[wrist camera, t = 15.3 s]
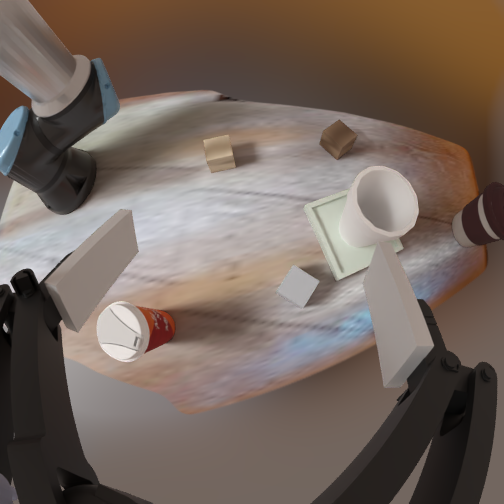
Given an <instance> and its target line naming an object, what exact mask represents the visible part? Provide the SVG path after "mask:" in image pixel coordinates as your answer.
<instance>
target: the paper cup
mask: <svg viewBox="0 0 504 504" xmlns="http://www.w3.org/2000/svg"><path fill="white" fill-rule="evenodd" d="M174 333H175V323H174V320H173V319H172V317H171V316H170V315H169V314H168V313H166V312H164V311H160V310H155V309H150V308H144V307H138V306H134V305H133V304H131V303H128V302H123V301H120V302H115V303H112V304H111V305H109V306H108V307H107V308H106V309H105V310H104V311H103V312H102V313H101V314H100V316H99V318H98V321H97V336H98V340H99V343H101V344H100V345H101V347H102V348H103V350H104V351H105V352H106V353H107V354H108V355H109V356H111V357H113V358H115V359H117V360H119V361H123V362H131V361H135V360H137V359H139V358H140V357H141V356H142V355H143V354H144V353H146V352H148V351H150V350H153V349H155V348H157V347H159V346H161V345H163V344H165V343H167V342H168V341H169V340H171V339H172V337H173V336H174Z"/></svg>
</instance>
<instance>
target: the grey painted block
mask: <svg viewBox="0 0 504 504" xmlns="http://www.w3.org/2000/svg"><path fill="white" fill-rule="evenodd" d="M319 282H320V281H319V280H317V279H315V278H314V277H312V276H311V275H309V274H307V273H306V272H304V271H303V270H301V269H300V268H298V267H296V266H295V265H293V266H292V268H291V269H290V271H289V272H288V274H287V275H286V277H285V279H284V280H283V282H282V283H281V285H280V286H279V288H278V289H277V291H276V293H277V294H278V295H280V296H281V297H283V298H284V299H286V300H288V301H289V302H291V303H292V304H294V305H295V306H297V307H299V308H304V306H305V304H306V303H307V301H308V300H309V298H310V296H311V295H312V293H313V292H314V290H315V288H316V287H317V285H318V283H319Z"/></svg>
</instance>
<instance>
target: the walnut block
mask: <svg viewBox="0 0 504 504" xmlns="http://www.w3.org/2000/svg"><path fill="white" fill-rule="evenodd" d="M357 136H358V135H357V134H356V133H354V132H353V131H352V130H351V129H350V128H349V127H347V126H346V125H345V124H344V123H343V122H341V121H340V120H338V121H337V122H335V123H334V124H332V125H331V126H329V127H328V128H327V129H325V130H324V131H323V133H322V137H321V141H320V145H321V146H322V147H323V148H324V149H325V150H326V151H328V152H329V153H330V154H331V155H332V156H333V157H334V158H335V159H336V160H338V159H339V158H340V157H341V156H343V155H344V154H345V153H346V152H347V151H349V150H350V149H351V148H352V146H353V144H354V142H355V140H356V138H357Z"/></svg>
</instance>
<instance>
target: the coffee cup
mask: <svg viewBox="0 0 504 504" xmlns="http://www.w3.org/2000/svg"><path fill="white" fill-rule="evenodd" d="M452 230H453V234H454V236H455V238H456V240H457V242H458V243H459V244H460V245H462V246H463V247H472V246H476V245H484V244H487V243H491V242H495V241H498V240H500V239H502V240H504V186H503V185H502V184H500V183H497V182H493V183H491V184H490V185H488V186H487V187H486V188H485V190H484V192H483V193H481V194H480V195H479V196H478V197H476V198H475V199H474V200H472V201H471V202H470V203H469V204H467V205H466V206H465V207H464V209H463V210H461V211H460V212H459V213H457V214H456V215H455V217H454V218H453V222H452Z"/></svg>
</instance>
